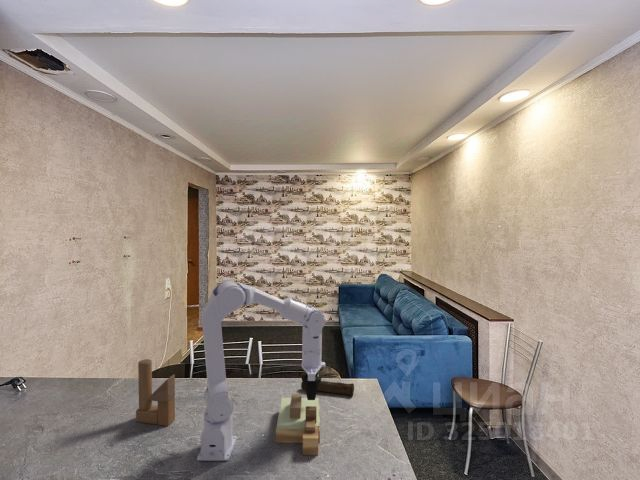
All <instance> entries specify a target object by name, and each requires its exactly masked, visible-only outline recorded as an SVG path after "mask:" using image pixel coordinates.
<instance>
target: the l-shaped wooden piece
mask: <svg viewBox="0 0 640 480" xmlns="http://www.w3.org/2000/svg"><path fill="white" fill-rule="evenodd" d="M316 411H317V410H316V406H306V421H305V423H306V432H315V423H316Z"/></svg>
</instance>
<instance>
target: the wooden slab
mask: <svg viewBox="0 0 640 480" xmlns="http://www.w3.org/2000/svg"><path fill="white" fill-rule="evenodd" d="M280 406H281V404H280V405H279V407H280ZM278 417H279V415H278ZM278 417H277V418H278ZM277 422H278V420H277ZM277 422H276V423H277ZM320 423H321V421H320V411H319V430H318V427H315V432H306V427H303V429H277V426H276V428H275V443H278V444H279V443H280V444H282V443H284V444H285V443H286V444H288V443H291V444H294V443H295V444H296V443H297V444H302V456H319V444H320V443H321V426H320Z"/></svg>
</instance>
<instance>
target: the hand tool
mask: <svg viewBox="0 0 640 480" xmlns="http://www.w3.org/2000/svg"><path fill="white" fill-rule="evenodd" d="M300 387H301V389H302V390H305V391H306V389H305V386H304V383H303V382H302V381H301V383H300ZM317 392H324V393H325V392H326V393H331V394H332V393H334V394H340V395H341V394H342V395H350V396H351V397H352V398H353V396H354V392H355V384H354V383H344V382H333V381H326V380H321V382H320V383H319V385H318V388H317Z"/></svg>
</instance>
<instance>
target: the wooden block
mask: <svg viewBox="0 0 640 480" xmlns="http://www.w3.org/2000/svg"><path fill="white" fill-rule="evenodd" d="M152 362H153V361H152V360H151V359H149V358H148V359H147V358H146V359H145V358H144V359H142V360H139V361H138V362H137V364H138V365H137V368H138V369H137V370H138V373H137V374H138V408H137V409H136V410H135V421H136V423H137V422H138V423H144V424H152V425H158V426H164V427H168V426H170V425H171V424H172V423H174V421H175V420H176V398H175V396H176V393H175V392H176V386H175V385H176V378H175V377H176V375H175V374H172V375H171V376H170V377H168V378H167V379H166V380H165V381H164V382H162V383H161V385H159V387H158V388H157V389H156V390H155V391H153V369H152V368H153V363H152ZM153 401H154V402H157V405H153Z"/></svg>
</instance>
